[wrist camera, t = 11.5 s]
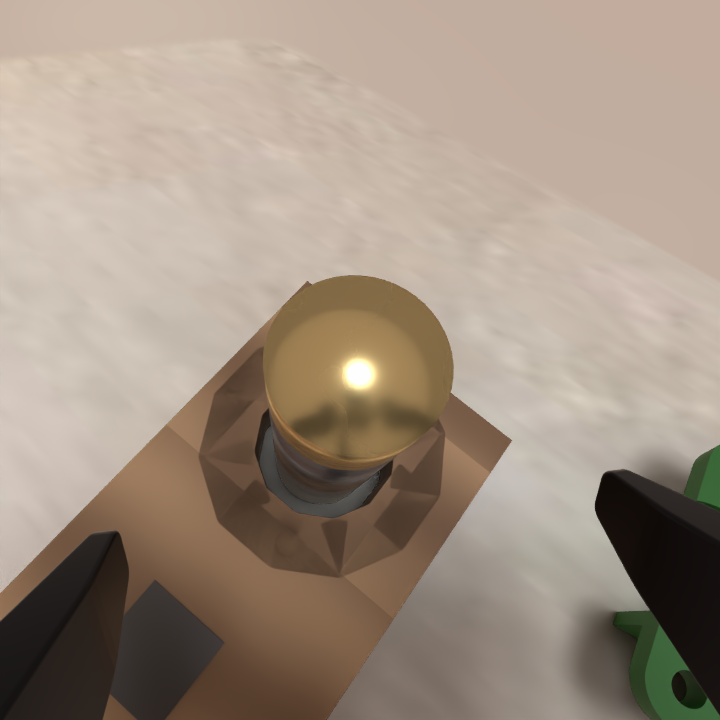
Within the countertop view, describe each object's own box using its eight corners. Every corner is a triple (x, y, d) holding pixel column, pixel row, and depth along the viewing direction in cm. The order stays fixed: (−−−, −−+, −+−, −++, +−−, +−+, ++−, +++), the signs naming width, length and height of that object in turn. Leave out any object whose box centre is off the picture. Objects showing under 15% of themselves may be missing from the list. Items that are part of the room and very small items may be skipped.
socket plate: (190, 886, 17) (171, 954, 14) (-34, 664, 18) (-93, 686, 16) (485, 452, 24) (512, 440, 21) (305, 310, 25) (307, 280, 22)
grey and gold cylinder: (328, 523, 22) (378, 499, 10) (257, 464, 22) (221, 370, 10) (383, 451, 23) (488, 351, 11) (316, 396, 24) (345, 242, 11)
